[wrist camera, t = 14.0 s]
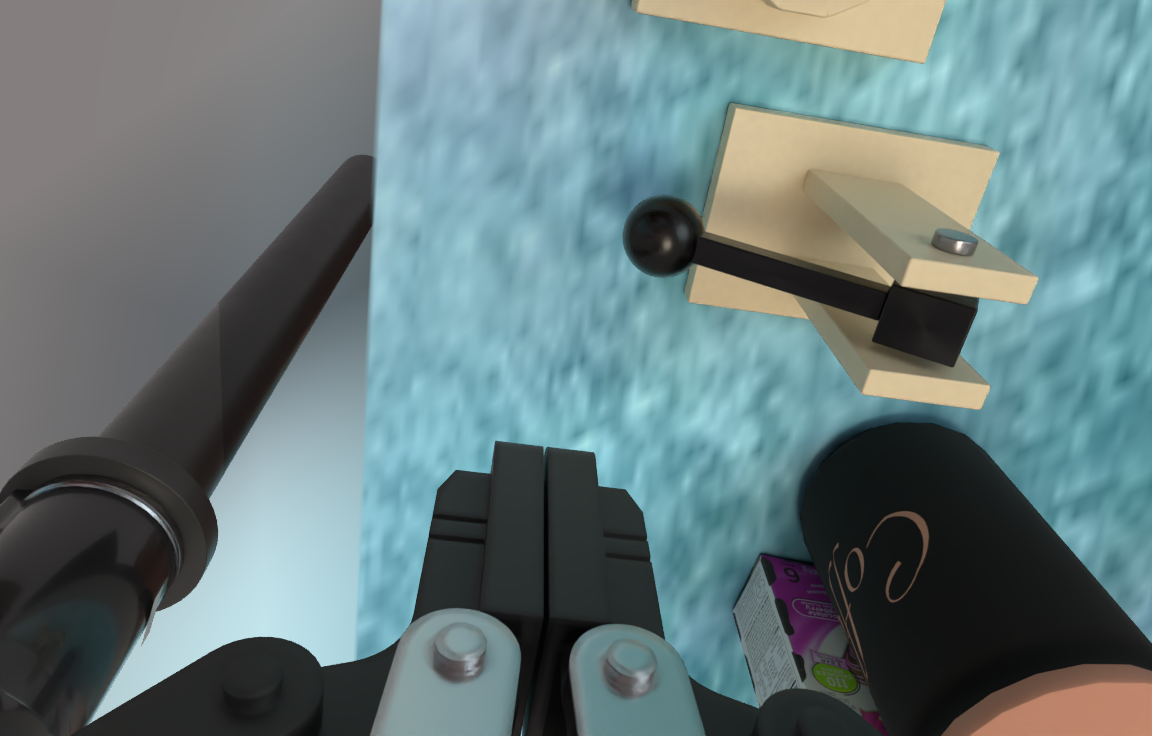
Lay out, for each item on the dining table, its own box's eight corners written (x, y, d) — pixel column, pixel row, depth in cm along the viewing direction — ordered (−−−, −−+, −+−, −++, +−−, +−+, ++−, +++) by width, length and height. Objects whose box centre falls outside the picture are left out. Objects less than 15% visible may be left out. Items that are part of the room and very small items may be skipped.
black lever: (633, 253, 35) (602, 272, 32) (649, 179, 34) (617, 192, 31) (953, 354, 31) (947, 385, 28) (986, 274, 29) (983, 299, 27)
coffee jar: (833, 395, 43) (1002, 663, 27) (1019, 428, 45) (1286, 702, 29) (769, 554, 48) (882, 862, 32) (939, 580, 49) (1130, 887, 33)
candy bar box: (933, 581, 49) (1095, 852, 35) (896, 642, 52) (1034, 920, 37) (757, 546, 48) (850, 815, 33) (727, 610, 50) (802, 889, 35)
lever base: (683, 292, 40) (738, 431, 29) (729, 102, 36) (814, 176, 25) (917, 325, 42) (1058, 471, 30) (986, 145, 38) (1179, 235, 26)
